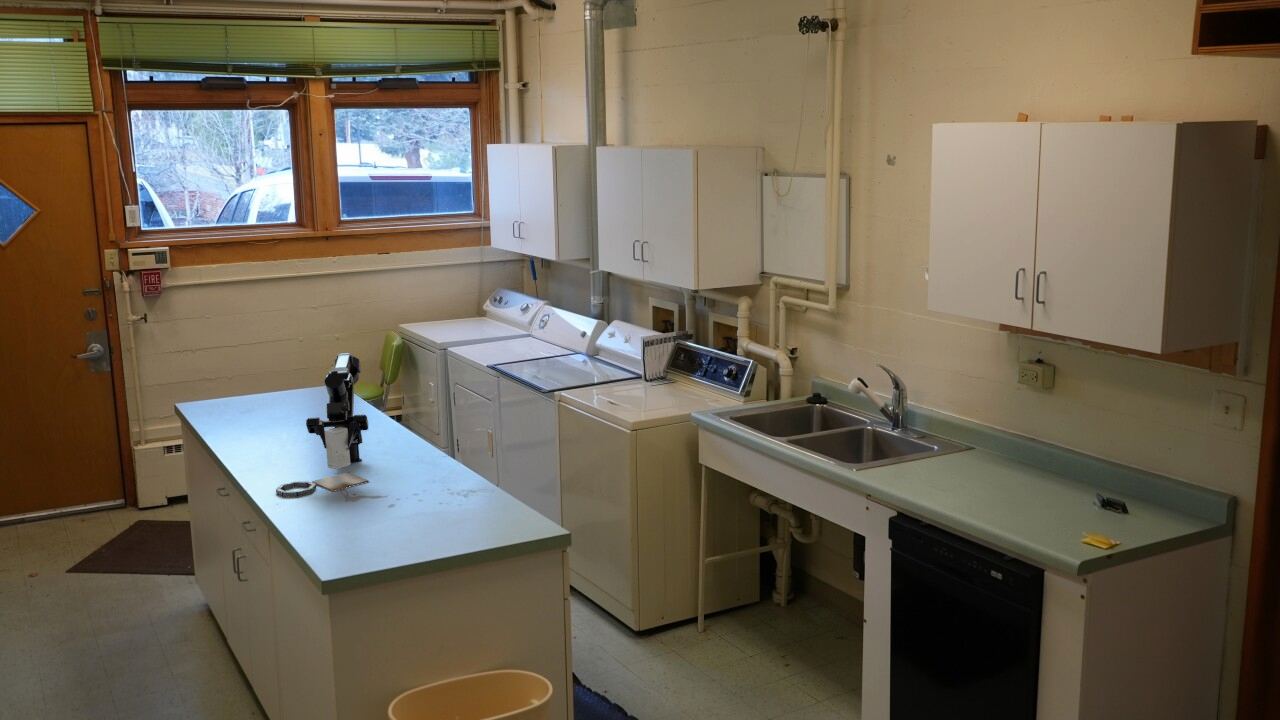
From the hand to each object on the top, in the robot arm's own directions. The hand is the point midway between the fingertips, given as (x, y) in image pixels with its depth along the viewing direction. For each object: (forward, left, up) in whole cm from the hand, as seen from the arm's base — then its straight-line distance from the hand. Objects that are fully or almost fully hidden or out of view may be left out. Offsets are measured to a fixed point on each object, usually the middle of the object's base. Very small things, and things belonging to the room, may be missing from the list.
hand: (336, 447), depth 349 cm
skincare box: (-1, -1, -7) cm, 7 cm away
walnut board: (-1, -1, -12) cm, 12 cm away
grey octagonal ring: (+13, -3, -12) cm, 18 cm away
